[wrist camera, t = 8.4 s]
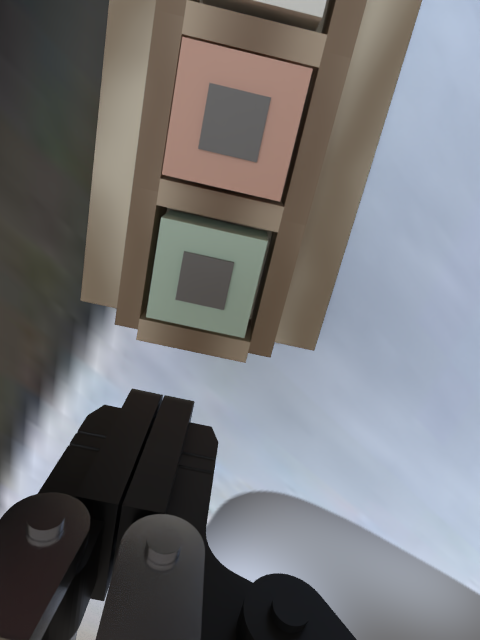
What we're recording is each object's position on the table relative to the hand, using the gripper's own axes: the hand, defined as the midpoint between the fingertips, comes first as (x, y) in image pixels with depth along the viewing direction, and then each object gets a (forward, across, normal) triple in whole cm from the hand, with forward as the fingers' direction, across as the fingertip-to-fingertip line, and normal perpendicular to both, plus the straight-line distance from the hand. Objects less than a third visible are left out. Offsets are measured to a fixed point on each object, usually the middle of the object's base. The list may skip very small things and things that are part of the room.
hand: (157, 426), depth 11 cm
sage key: (+14, 0, 0) cm, 14 cm away
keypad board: (+17, 0, -7) cm, 18 cm away
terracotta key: (+13, 0, -7) cm, 15 cm away
